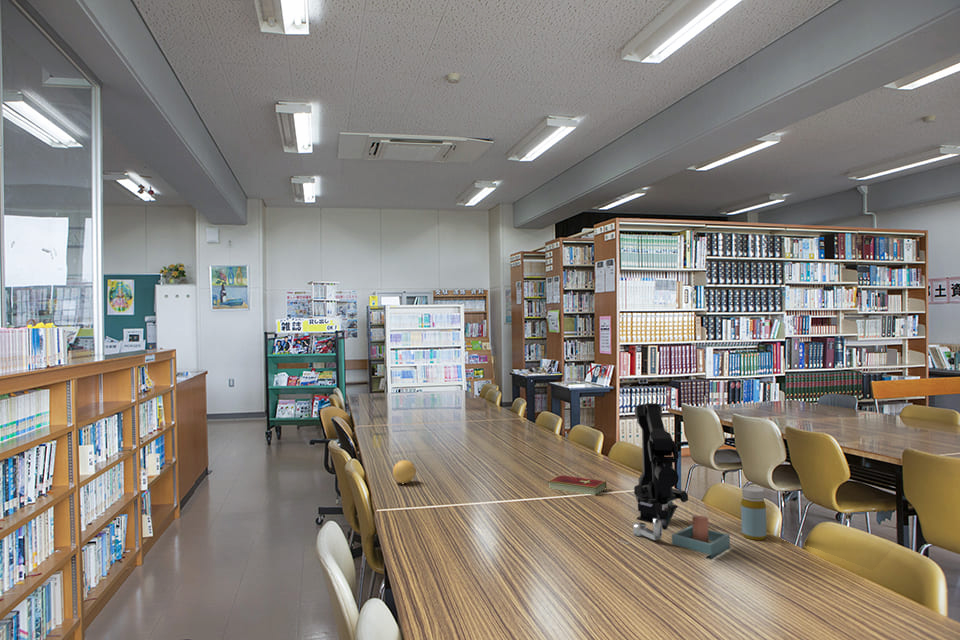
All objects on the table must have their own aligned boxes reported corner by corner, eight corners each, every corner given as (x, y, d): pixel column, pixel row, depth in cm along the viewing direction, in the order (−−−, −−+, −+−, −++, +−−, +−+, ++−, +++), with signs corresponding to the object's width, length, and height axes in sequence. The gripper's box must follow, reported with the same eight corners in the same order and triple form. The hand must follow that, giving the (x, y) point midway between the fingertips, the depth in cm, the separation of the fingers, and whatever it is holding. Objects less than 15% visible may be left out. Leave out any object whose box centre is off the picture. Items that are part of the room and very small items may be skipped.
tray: (691, 538, 180) (691, 525, 180) (729, 548, 171) (729, 534, 171) (672, 548, 172) (672, 534, 172) (711, 559, 163) (710, 545, 163)
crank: (630, 533, 181) (630, 510, 181) (640, 531, 183) (640, 508, 183) (655, 544, 171) (655, 521, 171) (665, 542, 172) (665, 519, 173)
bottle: (752, 541, 176) (751, 492, 177) (736, 534, 183) (735, 487, 183) (771, 539, 178) (770, 490, 178) (755, 532, 185) (754, 485, 185)
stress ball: (403, 489, 245) (420, 472, 248) (388, 472, 246) (405, 455, 248) (402, 487, 255) (419, 471, 257) (387, 470, 255) (404, 454, 258)
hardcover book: (560, 483, 249) (560, 474, 249) (606, 490, 238) (606, 480, 238) (547, 490, 239) (547, 480, 239) (595, 497, 228) (595, 486, 228)
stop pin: (697, 541, 175) (696, 514, 175) (711, 544, 171) (710, 517, 171) (690, 544, 172) (689, 517, 172) (704, 548, 168) (703, 521, 169)
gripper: (656, 467, 187) (658, 515, 187) (621, 479, 175) (624, 531, 175) (687, 473, 178) (690, 523, 178) (653, 486, 166) (656, 540, 166)
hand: (664, 529), depth 175 cm, fingers closed
